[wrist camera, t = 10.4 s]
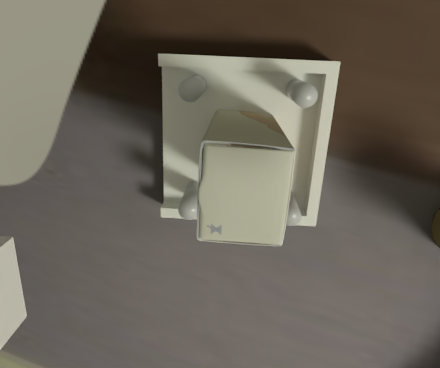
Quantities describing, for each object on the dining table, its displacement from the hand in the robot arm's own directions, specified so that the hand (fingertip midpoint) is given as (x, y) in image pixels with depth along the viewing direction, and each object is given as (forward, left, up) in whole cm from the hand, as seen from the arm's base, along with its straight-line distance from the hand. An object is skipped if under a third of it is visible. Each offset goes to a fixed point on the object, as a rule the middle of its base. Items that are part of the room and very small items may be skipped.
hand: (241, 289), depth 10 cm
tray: (0, 0, -19) cm, 19 cm away
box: (0, 0, -18) cm, 18 cm away
